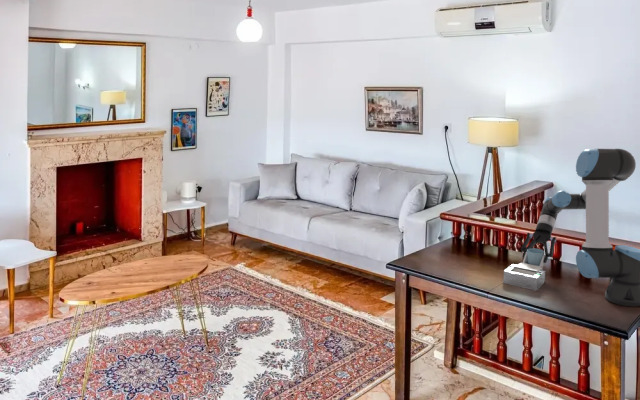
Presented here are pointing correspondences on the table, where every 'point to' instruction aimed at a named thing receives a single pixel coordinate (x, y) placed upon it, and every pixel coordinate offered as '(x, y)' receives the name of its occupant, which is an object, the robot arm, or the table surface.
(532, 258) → the cup
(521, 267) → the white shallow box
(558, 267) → the table surface
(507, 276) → the white rectangular box
